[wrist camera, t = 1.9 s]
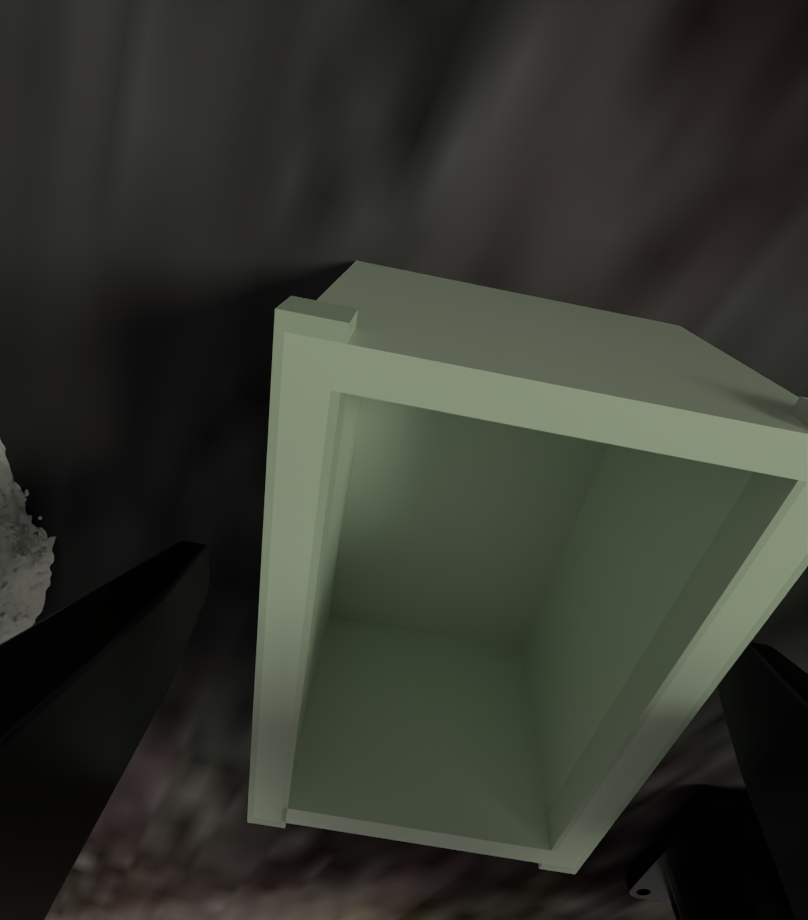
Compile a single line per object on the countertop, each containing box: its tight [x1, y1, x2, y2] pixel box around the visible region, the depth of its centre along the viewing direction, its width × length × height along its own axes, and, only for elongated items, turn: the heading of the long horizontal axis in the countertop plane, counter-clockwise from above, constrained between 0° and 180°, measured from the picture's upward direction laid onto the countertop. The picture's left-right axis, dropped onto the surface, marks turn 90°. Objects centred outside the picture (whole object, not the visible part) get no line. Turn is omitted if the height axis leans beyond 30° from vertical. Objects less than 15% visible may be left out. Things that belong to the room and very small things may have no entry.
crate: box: [247, 261, 808, 874], centre depth 9 cm, size 9×6×5 cm, turn 170°
